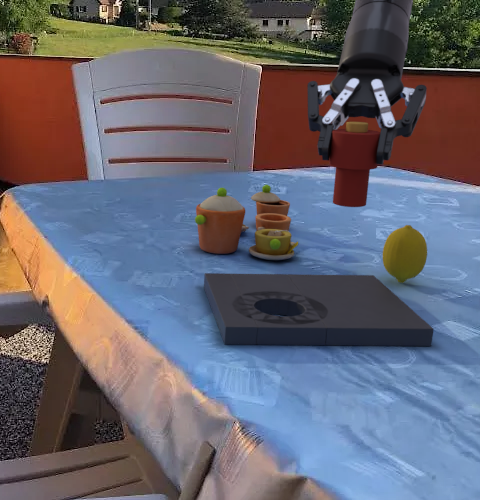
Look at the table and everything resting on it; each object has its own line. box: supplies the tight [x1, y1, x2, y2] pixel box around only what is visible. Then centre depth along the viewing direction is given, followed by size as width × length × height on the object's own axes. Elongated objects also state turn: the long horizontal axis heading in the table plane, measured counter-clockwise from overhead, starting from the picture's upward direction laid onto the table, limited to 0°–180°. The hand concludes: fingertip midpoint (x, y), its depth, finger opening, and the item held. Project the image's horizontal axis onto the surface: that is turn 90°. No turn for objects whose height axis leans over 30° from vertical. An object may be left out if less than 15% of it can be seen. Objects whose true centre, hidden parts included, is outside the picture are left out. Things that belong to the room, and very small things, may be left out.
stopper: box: [329, 121, 381, 208], centre depth 82 cm, size 5×5×10 cm
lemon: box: [382, 224, 428, 284], centre depth 94 cm, size 6×6×8 cm
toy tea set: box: [194, 184, 299, 261], centre depth 113 cm, size 26×16×10 cm, turn 168°
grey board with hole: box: [203, 272, 434, 347], centre depth 83 cm, size 22×18×2 cm
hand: (352, 157), depth 81 cm, fingers closed on stopper, 5 cm apart
